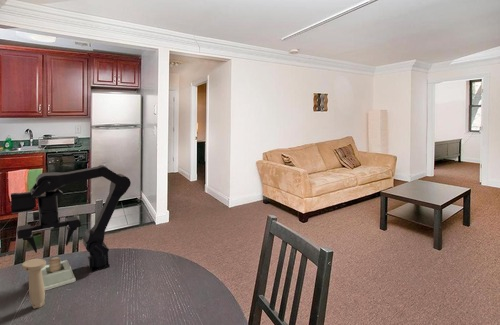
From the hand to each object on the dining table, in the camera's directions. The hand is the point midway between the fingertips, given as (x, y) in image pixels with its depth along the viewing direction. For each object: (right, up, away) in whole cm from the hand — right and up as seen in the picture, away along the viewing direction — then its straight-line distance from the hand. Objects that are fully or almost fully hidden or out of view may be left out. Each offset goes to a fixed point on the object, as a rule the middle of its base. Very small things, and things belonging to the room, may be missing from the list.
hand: (51, 248), depth 105 cm
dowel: (+1, -12, +2) cm, 12 cm away
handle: (+5, -15, -13) cm, 20 cm away
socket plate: (+1, -12, +1) cm, 12 cm away
